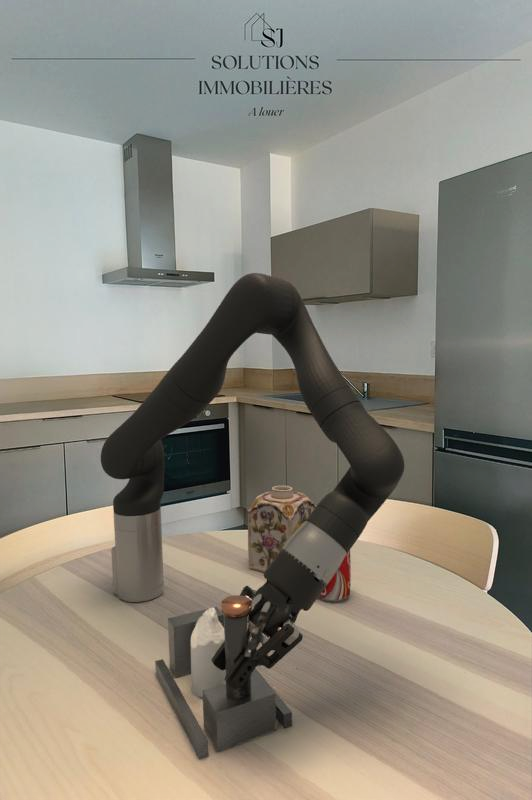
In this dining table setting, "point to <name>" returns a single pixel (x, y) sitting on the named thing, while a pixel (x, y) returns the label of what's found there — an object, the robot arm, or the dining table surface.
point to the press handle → (250, 704)
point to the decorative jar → (274, 523)
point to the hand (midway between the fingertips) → (223, 675)
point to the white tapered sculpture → (206, 653)
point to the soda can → (339, 582)
